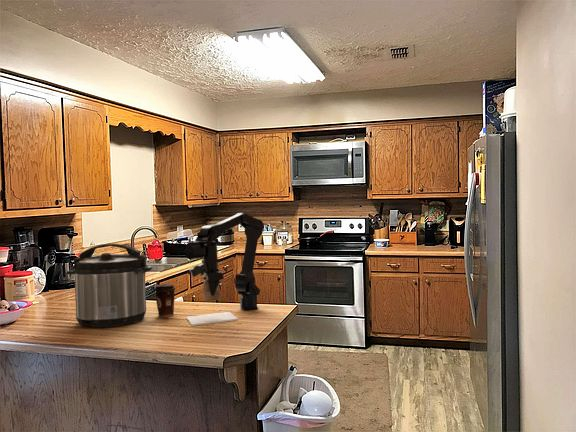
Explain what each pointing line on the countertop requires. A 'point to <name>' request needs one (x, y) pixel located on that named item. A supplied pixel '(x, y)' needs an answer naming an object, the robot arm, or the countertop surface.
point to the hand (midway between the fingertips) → (212, 295)
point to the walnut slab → (208, 294)
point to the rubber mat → (211, 318)
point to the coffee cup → (165, 299)
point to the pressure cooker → (110, 287)
